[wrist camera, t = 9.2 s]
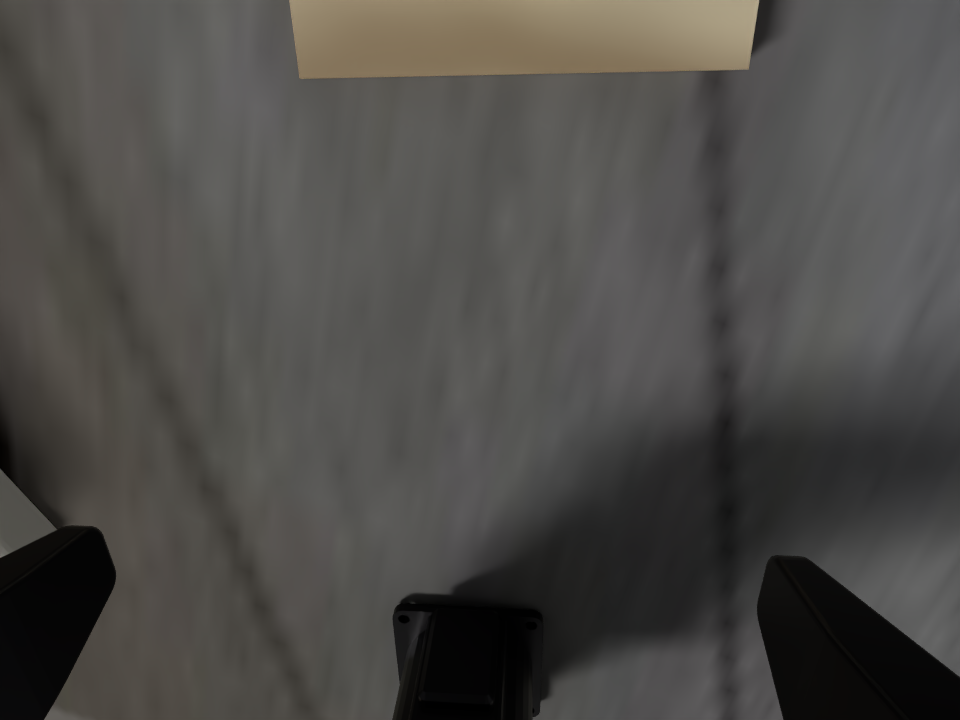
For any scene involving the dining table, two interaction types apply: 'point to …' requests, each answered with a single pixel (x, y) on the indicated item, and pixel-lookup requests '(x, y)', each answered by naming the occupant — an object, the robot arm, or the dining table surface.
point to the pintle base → (519, 36)
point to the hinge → (19, 518)
